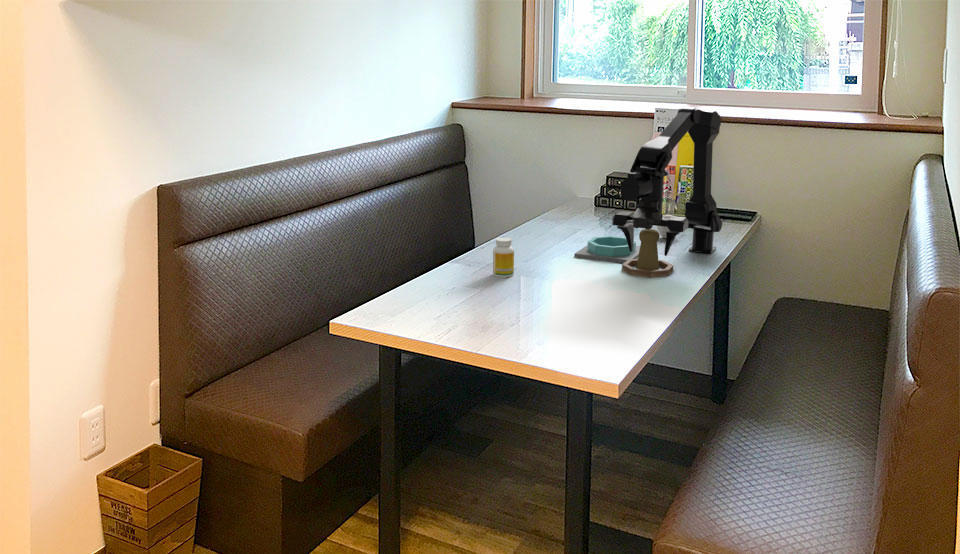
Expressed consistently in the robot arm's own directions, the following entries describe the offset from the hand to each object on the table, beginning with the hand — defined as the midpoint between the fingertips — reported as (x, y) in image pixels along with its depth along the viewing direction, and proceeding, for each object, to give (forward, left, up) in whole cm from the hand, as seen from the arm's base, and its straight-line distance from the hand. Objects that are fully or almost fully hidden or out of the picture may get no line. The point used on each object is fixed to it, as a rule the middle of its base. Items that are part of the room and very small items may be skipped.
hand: (648, 253), depth 235 cm
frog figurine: (-37, -5, -5) cm, 38 cm away
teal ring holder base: (-12, -14, -4) cm, 19 cm away
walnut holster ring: (0, 0, -4) cm, 4 cm away
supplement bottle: (+21, -32, -5) cm, 39 cm away
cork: (0, 0, -5) cm, 5 cm away
